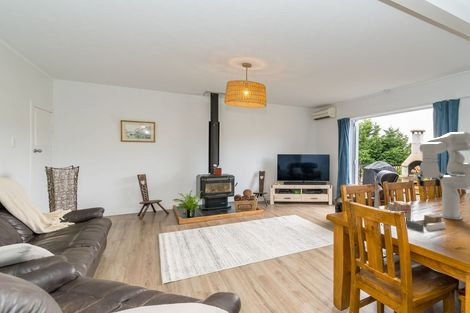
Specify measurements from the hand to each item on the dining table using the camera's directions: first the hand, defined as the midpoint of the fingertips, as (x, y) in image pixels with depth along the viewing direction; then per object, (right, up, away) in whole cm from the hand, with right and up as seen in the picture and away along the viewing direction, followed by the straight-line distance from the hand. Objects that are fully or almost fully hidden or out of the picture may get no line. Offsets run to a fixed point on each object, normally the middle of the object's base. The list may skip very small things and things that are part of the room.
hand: (429, 186), depth 159 cm
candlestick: (-33, -27, +6) cm, 43 cm away
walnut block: (-1, -26, -4) cm, 27 cm away
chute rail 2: (-4, -26, -9) cm, 28 cm away
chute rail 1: (-6, -26, 0) cm, 27 cm away
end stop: (-17, -27, -8) cm, 32 cm away
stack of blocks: (-9, -26, +17) cm, 33 cm away
